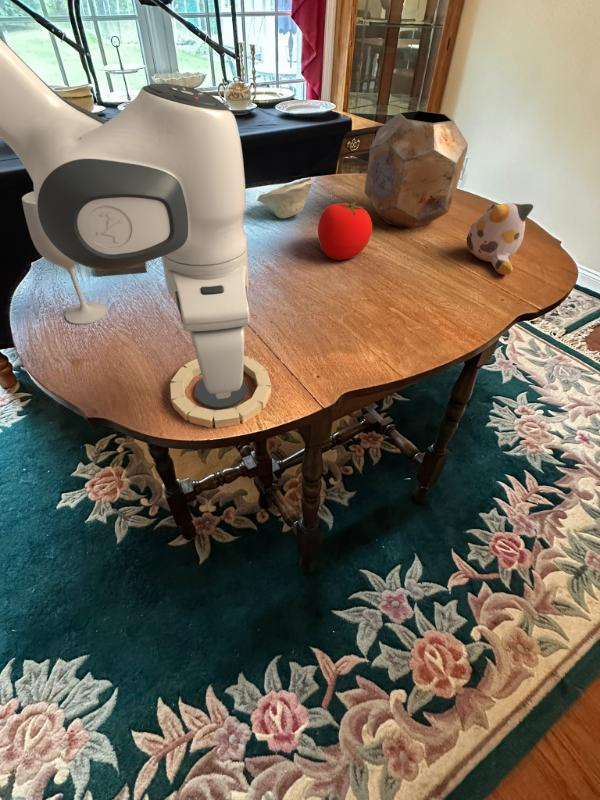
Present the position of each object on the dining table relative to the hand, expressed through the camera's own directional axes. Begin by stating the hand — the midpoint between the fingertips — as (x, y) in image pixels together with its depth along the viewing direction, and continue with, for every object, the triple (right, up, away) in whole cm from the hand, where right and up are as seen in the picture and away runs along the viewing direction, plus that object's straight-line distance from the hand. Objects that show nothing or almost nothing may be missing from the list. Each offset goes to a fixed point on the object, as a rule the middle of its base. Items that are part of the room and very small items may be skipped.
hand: (218, 369), depth 56 cm
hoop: (-2, -3, +11) cm, 12 cm away
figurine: (+56, +28, +45) cm, 77 cm away
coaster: (-2, -3, +11) cm, 12 cm away
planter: (+39, +46, +62) cm, 87 cm away
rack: (-28, +26, +39) cm, 55 cm away
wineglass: (-29, +12, +25) cm, 40 cm away
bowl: (+7, +46, +61) cm, 76 cm away
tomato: (+20, +30, +46) cm, 59 cm away
